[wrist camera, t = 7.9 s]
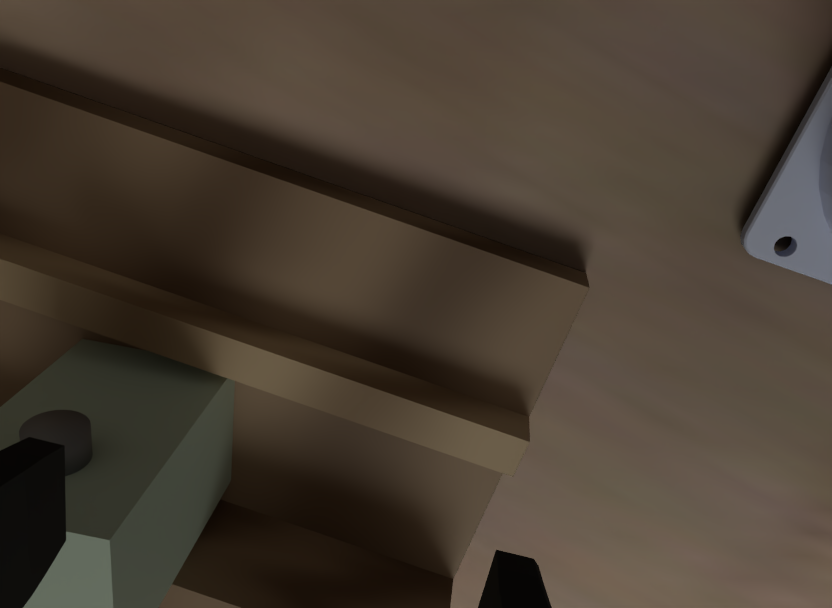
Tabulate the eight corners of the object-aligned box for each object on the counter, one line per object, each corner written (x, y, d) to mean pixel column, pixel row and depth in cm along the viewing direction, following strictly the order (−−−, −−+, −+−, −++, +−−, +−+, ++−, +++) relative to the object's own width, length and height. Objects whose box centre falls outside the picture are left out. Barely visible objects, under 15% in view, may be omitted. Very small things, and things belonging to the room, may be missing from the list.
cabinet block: (235, 342, 20) (107, 508, 14) (230, 480, 22) (117, 680, 16) (80, 313, 21) (-114, 463, 14) (89, 452, 23) (-78, 638, 16)
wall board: (586, 273, 19) (604, 352, 15) (440, 588, 24) (425, 710, 20) (-141, 18, 19) (-322, 29, 15) (-135, 391, 24) (-268, 475, 20)
